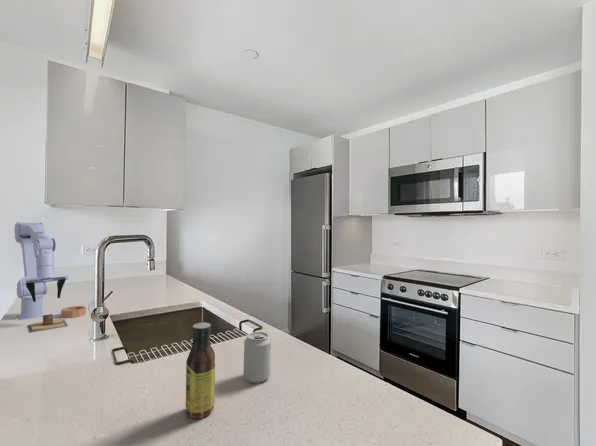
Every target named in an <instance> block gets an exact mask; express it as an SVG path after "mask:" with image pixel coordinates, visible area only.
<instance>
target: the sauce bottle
mask: <svg viewBox="0 0 596 446" xmlns="http://www.w3.org/2000/svg"><path fill="white" fill-rule="evenodd" d="M191 328H192V329H191V332H192V343H191V344H192V345H191V348H190V351H189V352H188V353H189V354H188V356H187V358H186V362H185V363H186V364H185V365H186V366H185V368H186V369H185V370H186V371H185V409H186V415H187V416H188V418H192V419H202V418H206V417H207V416H209V415H211V414H212V412H213V410H214V408H215V406H214V405H215V404H214V403H215V395H216V393H215V386H216V379H215V378H216V377H215V376H216V363H215V361H216V354H215V350H214V349H213V347H212V346H211V344H210V343H211V332H212V324H211V323H209V322H198V323H195V324H194V323H193V325H192V327H191Z"/></svg>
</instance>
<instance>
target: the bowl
mask: <svg viewBox="0 0 596 446" xmlns="http://www.w3.org/2000/svg"><path fill="white" fill-rule="evenodd" d="M86 314H87V307H86V306H85V305H73V306H68V307H63V308H62V309H60V319H74V318H79V317H83V316H85V315H86Z"/></svg>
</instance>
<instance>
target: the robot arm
mask: <svg viewBox="0 0 596 446" xmlns="http://www.w3.org/2000/svg"><path fill="white" fill-rule="evenodd" d="M13 231H14V240H15V243H18V244H20V247H21V250H22V251H21V252H22V263H23V272H24V273H23V274H24V276H23V277H22V278H21V279H19V280H18V282H17V284H16V296H17V297H18V299H20V300H21V305H20V314H19V315H18V318H19V320H20V321H24V320H31V319H38V318H43V316H44V315H45V314H44V313H43V302H44V301H43V297H44V296H45V295H47V293H48V289H49V285H48V283H50V282H56V287H57V288H56V289H57V295H56V296H57V299H60V298H61V294H62V290H63V288H64V285H65V283H66V281H67V280H69V274H61V275H56V272H55V271H56V270H55V254H54V252H55V250H56V239H55V237H54V238H53V237H52V238H50V237H49V235H48V234H47V233H46V232H45V225H44V223H43V222H18V221H17V222H15V224H14V230H13Z"/></svg>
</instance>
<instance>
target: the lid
mask: <svg viewBox="0 0 596 446" xmlns="http://www.w3.org/2000/svg"><path fill="white" fill-rule="evenodd" d="M43 315H44V316H43V317H42V321H40V322H34V323H31V324H30V325H31V328H32V333H34V332H33V331H37V332H39V331H38V330H43V331H45V330H44V329H49V330H51V329H50V328H55V329H57V328H56V327H61V328H63V327H62V326H65V324H64V322H63V321H62V320H63V318H60V319H54V314H49V313H48V314H43Z"/></svg>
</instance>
